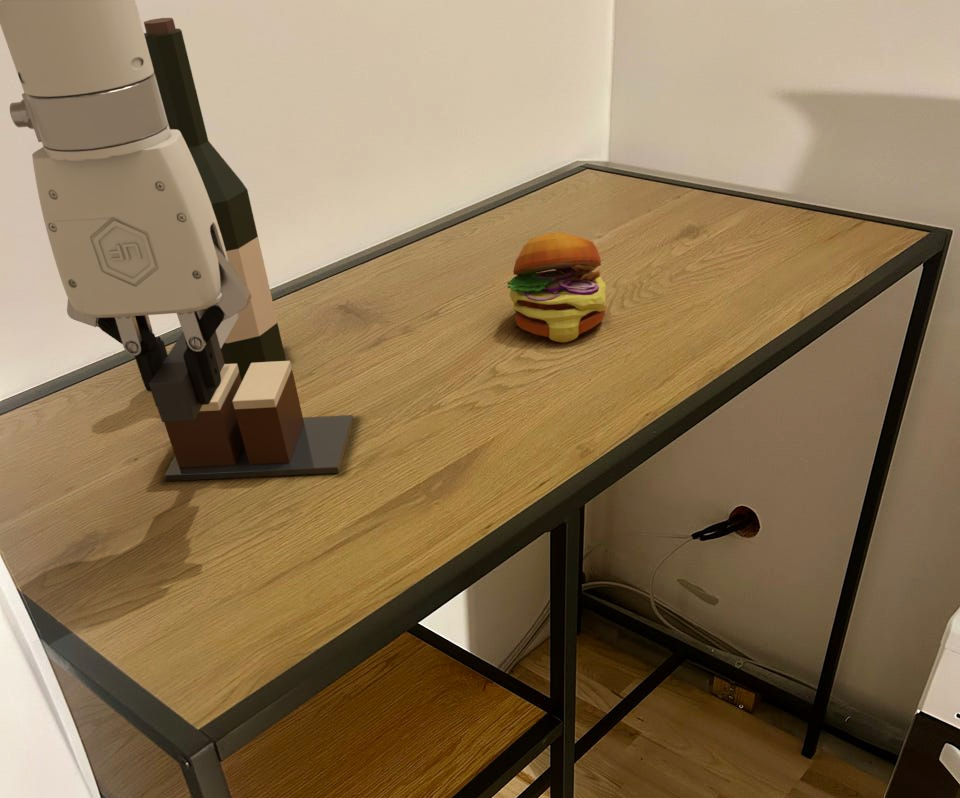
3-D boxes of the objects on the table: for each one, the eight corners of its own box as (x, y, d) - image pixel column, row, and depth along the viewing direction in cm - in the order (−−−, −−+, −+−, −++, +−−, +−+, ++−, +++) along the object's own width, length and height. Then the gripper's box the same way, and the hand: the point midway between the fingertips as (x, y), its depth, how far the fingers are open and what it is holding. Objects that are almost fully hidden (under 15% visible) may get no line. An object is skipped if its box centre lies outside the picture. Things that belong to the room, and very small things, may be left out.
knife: (194, 420, 67) (182, 381, 65) (161, 422, 67) (148, 383, 66) (250, 316, 81) (241, 281, 79) (223, 318, 81) (213, 283, 79)
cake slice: (249, 465, 81) (231, 400, 77) (266, 424, 86) (250, 362, 82) (289, 463, 81) (274, 398, 77) (304, 422, 86) (290, 360, 82)
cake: (178, 468, 82) (157, 404, 78) (200, 427, 87) (181, 366, 83) (235, 465, 81) (217, 401, 77) (253, 425, 87) (237, 363, 83)
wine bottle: (278, 380, 94) (195, 25, 74) (196, 385, 95) (92, 34, 75) (293, 344, 101) (219, 7, 81) (216, 349, 101) (124, 16, 81)
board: (166, 481, 81) (164, 475, 81) (194, 428, 88) (192, 422, 88) (338, 473, 80) (337, 467, 80) (353, 420, 87) (352, 414, 87)
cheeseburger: (513, 349, 95) (504, 242, 90) (509, 331, 104) (501, 233, 100) (614, 339, 95) (611, 230, 90) (602, 322, 104) (598, 222, 99)
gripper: (-55, 145, 55) (63, 429, 67) (215, 122, 54) (286, 416, 66) (-1, 112, 61) (99, 380, 73) (245, 91, 59) (305, 367, 72)
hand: (187, 395), depth 69 cm, fingers closed on knife, 2 cm apart
